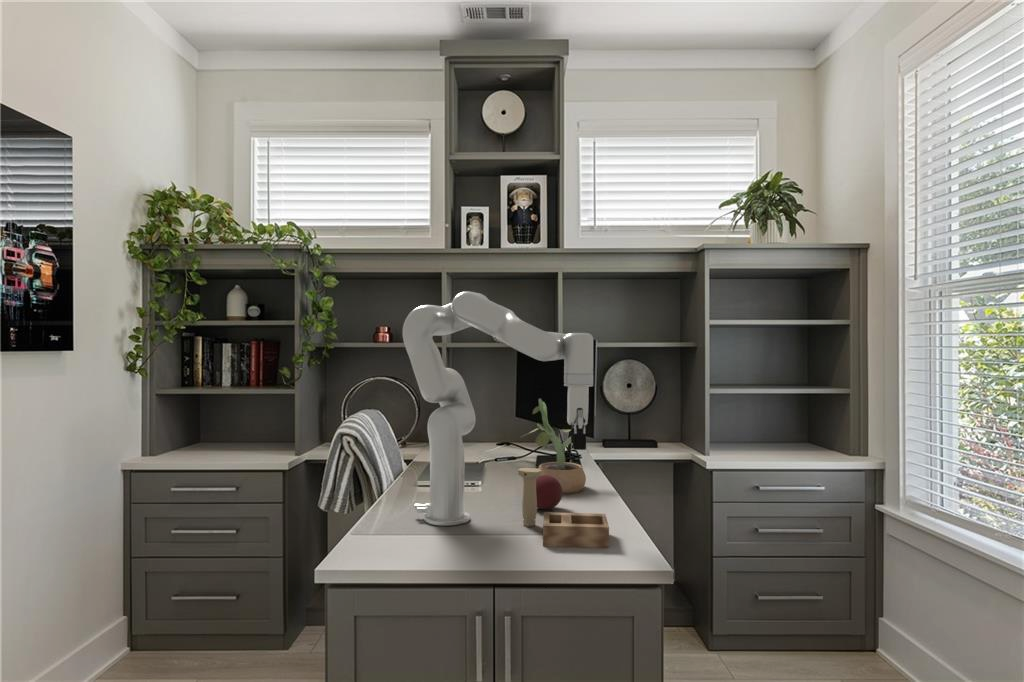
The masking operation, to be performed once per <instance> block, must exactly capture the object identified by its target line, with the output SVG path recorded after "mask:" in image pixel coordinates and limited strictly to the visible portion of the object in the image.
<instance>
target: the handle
mask: <svg viewBox="0 0 1024 682" xmlns="http://www.w3.org/2000/svg"><path fill="white" fill-rule="evenodd" d="M517 472H518V473H517V475H519V476H520V477H522V479H523V480H522V481H523V486H522V488H523V489H522V501H521V503H522V504H521V506H522V507H521V509H522V511H521V512H522V519H523V521H522V524H523V526H525V527H534V526H536V524H537V521H536V518H537V513H538V510H537V509H538V507H537V497H536V478H537V477H539V476H541V470H540V469H538V468H532V467H521V468H518V469H517Z"/></svg>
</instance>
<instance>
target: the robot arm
mask: <svg viewBox="0 0 1024 682" xmlns="http://www.w3.org/2000/svg"><path fill="white" fill-rule="evenodd" d="M472 327H473V328H474V329H477V330H479V331H481V332H483V333H484V334H487V335H488V336H491V337H492V338H493V337H494V338H495V339H497V340H498V341H500V342H501V343H504V344H506V345H507V346H509V347H510V348H512V349H513V350H516V351H518V352H520V353H522V354H524V355H526V356H528V357H530V358H533V359H534V360H537V361H541V362H549V361H550V362H551V361H558V360H563V361H564V362H563V364H564V366H563V369H564V370H563V373H564V374H563V383H564V384H563V386H564V387H567V396H566V397H567V400H566V402H567V403H566V404H567V407H566V410H567V411H566V412H567V413H566V414H567V415H566V419H567V420H566V422H567V424H568V425H569V426H571V427H570V430H571V431H570V437H571V443H570V444H572V448H573V450H575V451H577V450H581V451H586V450H587V433H586V426H587V425H588V422H589V421H588V420H589V400H590V399H589V389H590V388H591V387H594V337H593V335H592V334H591V333H589V332H569V333H563V332H562V333H561V332H554V331H545V330H543V329H541V328H538V327H536V326H534V325H532V324H530V323H529V322H528V323H527V322H526V321H524V320H522V319H520V318H519V317H518V316H517V315H516V314H515V312H514V311H513V310H511V309H509V308H507V307H505V306H503V305H500V304H498V303H496V302H494V301H491V300H490V299H489V298H488V297H487V295H484V294H482V293H480V292H479V293H478V292H475V291H467V290H466V291H462V292H459V293H457V294H456V295H455V296H454V297H453V299H452V301H451V302H450V303H448V304H446V305H442V306H441V305H434V304H424V305H420V306H418V307H415V308H413V310H411V311H410V312H409V313H408V315H407V316H406V318H405V320H404V322H403V326H402V339H403V341H402V342H403V344H404V347H405V350H406V352H407V355H408V358H409V360H410V364H411V368H412V370H413V373H414V377H415V379H416V382H417V386H418V388H419V392H420V394H421V397H422V398H423V399H424V401H426V402H429V403H431V404H437V403H438V404H439V406H440V407H438V408H436V409H434V410H433V411H432V412H431V414H430V416H429V417H428V421H427V437H428V442H429V502H428V503H425V504H422V503H415V504H414V511H415V512H417V513H425V514H424V516H423V518H424V522H425V523H427V524H429V525H432V526H440V527H443V526H444V527H446V526H456V525H457V526H458V525H462V524H466V523H467V522H469V521H470V517H471V514H470V513H469V512H466V511H465V448H464V443H463V436H466V435H468V434H469V433H471V432H472V430H473V429H474V428H475V425H476V412H475V409H474V406H473V403H472V401H471V398H470V395H469V392H468V389H467V385H466V383H465V379H464V378H463V377H462V375H461V374H460V373H459V372H458V371H457V370H455V369H453V368H450V367H445V363H444V361H443V358H442V355H441V353H440V350H439V348H438V347H437V345H436V343H435V341H434V339H433V337H434V336H439V337H441V336H447V335H451V334H455V333H456V332H459V331H461V330H462V331H463V330H465V329H467V328H472ZM589 387H590V388H589Z"/></svg>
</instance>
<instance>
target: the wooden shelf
mask: <svg viewBox="0 0 1024 682" xmlns="http://www.w3.org/2000/svg"><path fill="white" fill-rule="evenodd" d="M542 546H543V547H564V548H591V549H592V548H595V549H596V548H597V549H598V548H599V549H600V548H601V549H604V548H605V549H610V526H609V522H608V519H607V515H606V513H589V512H588V513H585V512H554V511H552V512H549V511H544V512H543V520H542Z"/></svg>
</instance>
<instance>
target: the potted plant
mask: <svg viewBox="0 0 1024 682" xmlns="http://www.w3.org/2000/svg"><path fill="white" fill-rule="evenodd" d="M537 402H538V406H535V407H534V409H533V410H532V415H535V414H537V413H538V412H540V413H541V420H542V421H541V422H542V425H543V426H542V425H541V424H540V423H537V424H536V426H537V427H538V428H537V427H536V428H535V429H533V430H531V431H530V432H528V433H524V434H522V435H520V436H519V437H518V438H523V437H525V436H527V435H529V434H531V433H534V432H536V431H537V430H539V429H540V430H541V432H540V433H539V434H538V435H537V436H536V437H535V441H534V442H535V443H536V445H537V446H539V447H540V448H541V447H542V448H546V449H547V448H548V444H549V442H550V441H551V442H552V444H553V447H554V450H555V453H556V461H550V462H545V463H541V464H539V465H538V468H537V469H540V470H541V475H549V476H552V477H554V478H555V479H557V480H558V481H559V483H560V485H561V487H562V495H563V494H564V495H569V494H575V493H579V492H580V491H582V490H583V489H584V488H585V485H586V480H587V477H586V472H585V471H584V468H583V467H582V465H581V464H578V463H574V462H566V456H565V451H564V450H565V448H567V446H569V445H570V444H572V443H571V436H570V437H569V438H568V439H566V440H564V442H563V443H562V442H561V441H560V439H559V438H558V436H557V435H556V432H555V430H554V429H553V428H552V427H551V425H550V424H549V419H548V407H547V405H546V403H545V401H543V400H542V398H538V401H537ZM561 430H562V433H563V432H564V433H568V432H571V429H564V428H562V429H561Z"/></svg>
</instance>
